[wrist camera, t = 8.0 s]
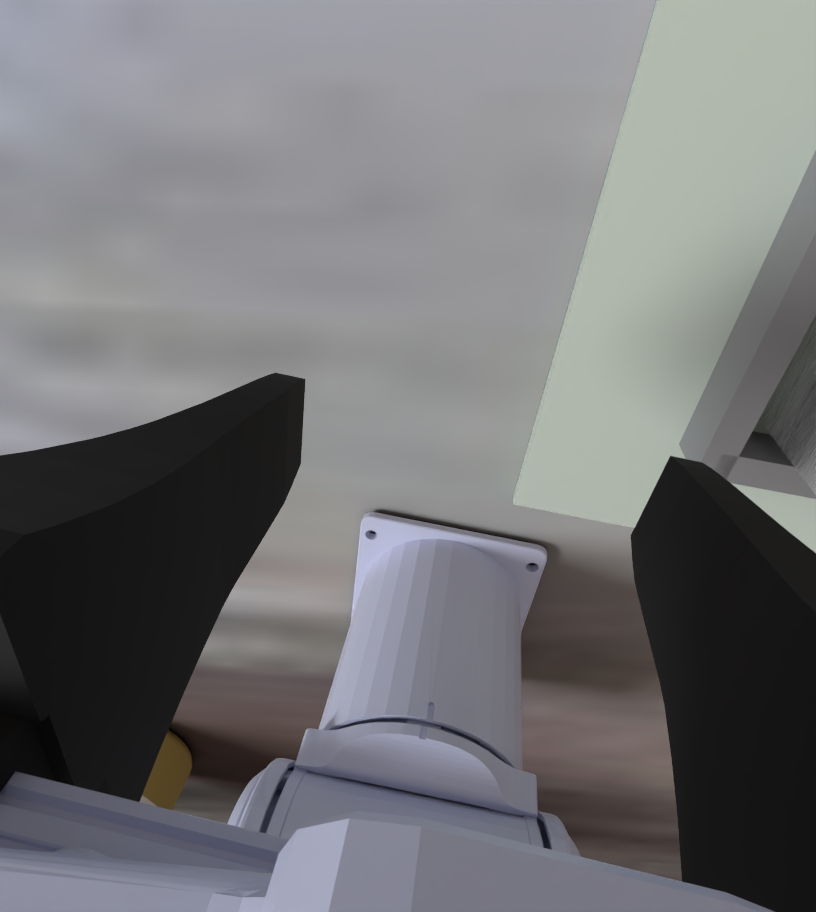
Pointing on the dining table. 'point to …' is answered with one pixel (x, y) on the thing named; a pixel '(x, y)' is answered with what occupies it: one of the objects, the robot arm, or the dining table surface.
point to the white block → (797, 409)
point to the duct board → (691, 273)
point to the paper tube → (168, 773)
